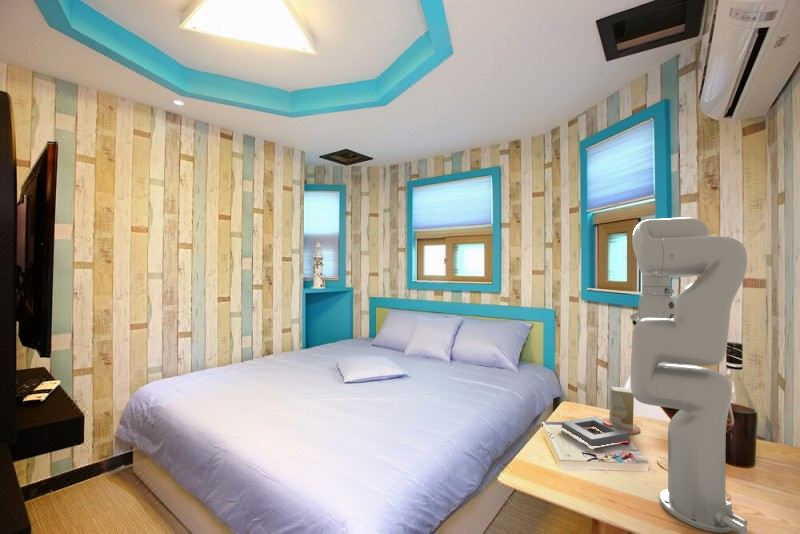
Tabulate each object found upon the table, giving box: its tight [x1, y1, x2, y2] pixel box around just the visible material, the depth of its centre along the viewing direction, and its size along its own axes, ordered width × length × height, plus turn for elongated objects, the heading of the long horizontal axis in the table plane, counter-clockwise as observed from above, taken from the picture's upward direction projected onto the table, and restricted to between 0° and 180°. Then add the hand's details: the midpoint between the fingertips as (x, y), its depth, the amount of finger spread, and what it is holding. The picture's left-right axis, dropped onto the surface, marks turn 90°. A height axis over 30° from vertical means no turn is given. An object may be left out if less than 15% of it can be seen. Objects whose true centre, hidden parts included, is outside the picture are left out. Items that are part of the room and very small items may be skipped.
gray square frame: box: [561, 416, 630, 446], centre depth 109 cm, size 12×14×4 cm
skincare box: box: [608, 386, 635, 430], centre depth 115 cm, size 6×4×12 cm
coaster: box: [602, 417, 641, 436], centre depth 116 cm, size 11×11×1 cm
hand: (656, 344), depth 112 cm, fingers open, 9 cm apart
